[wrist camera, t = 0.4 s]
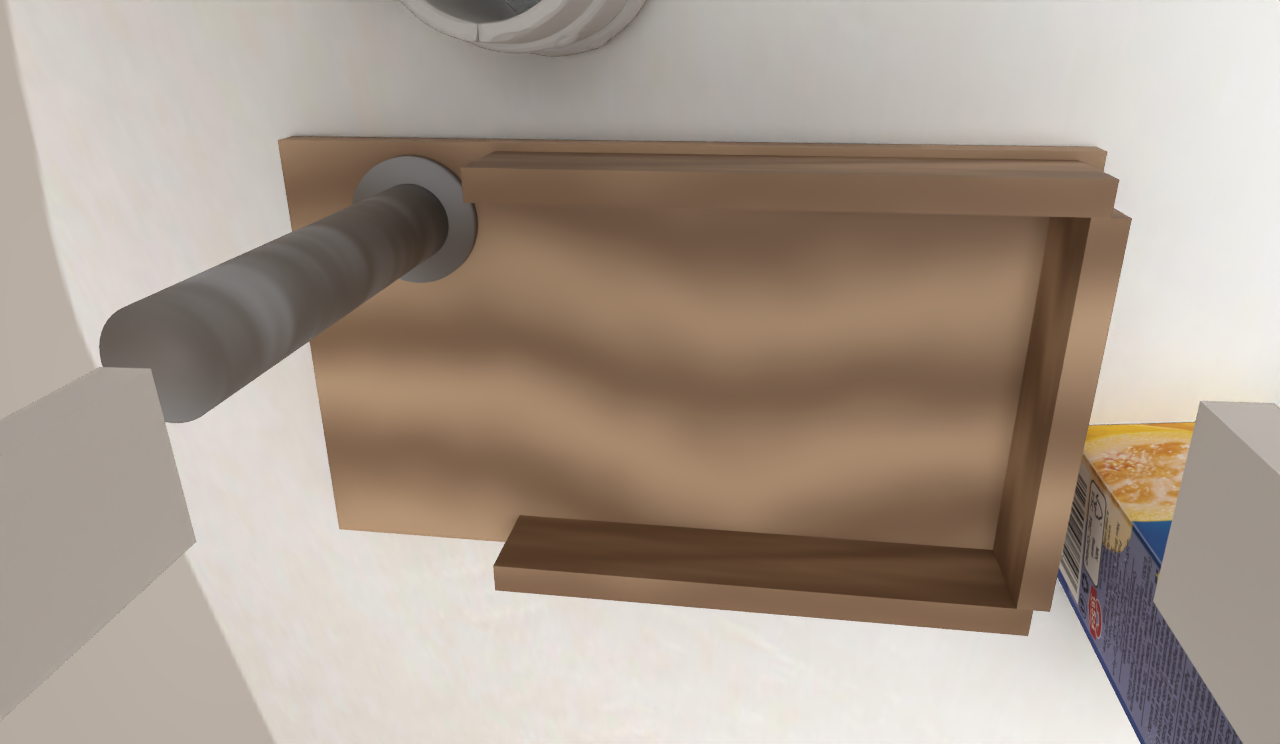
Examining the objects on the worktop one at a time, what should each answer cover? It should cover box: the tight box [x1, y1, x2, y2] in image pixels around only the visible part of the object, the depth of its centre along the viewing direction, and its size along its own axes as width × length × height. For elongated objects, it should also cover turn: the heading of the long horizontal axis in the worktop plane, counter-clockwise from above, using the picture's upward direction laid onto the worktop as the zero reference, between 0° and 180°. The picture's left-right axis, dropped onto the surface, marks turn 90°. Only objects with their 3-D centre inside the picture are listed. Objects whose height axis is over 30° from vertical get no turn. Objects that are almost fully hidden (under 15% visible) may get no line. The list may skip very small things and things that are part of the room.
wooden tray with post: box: [99, 136, 1132, 636], centre depth 29 cm, size 18×31×17 cm, turn 90°
